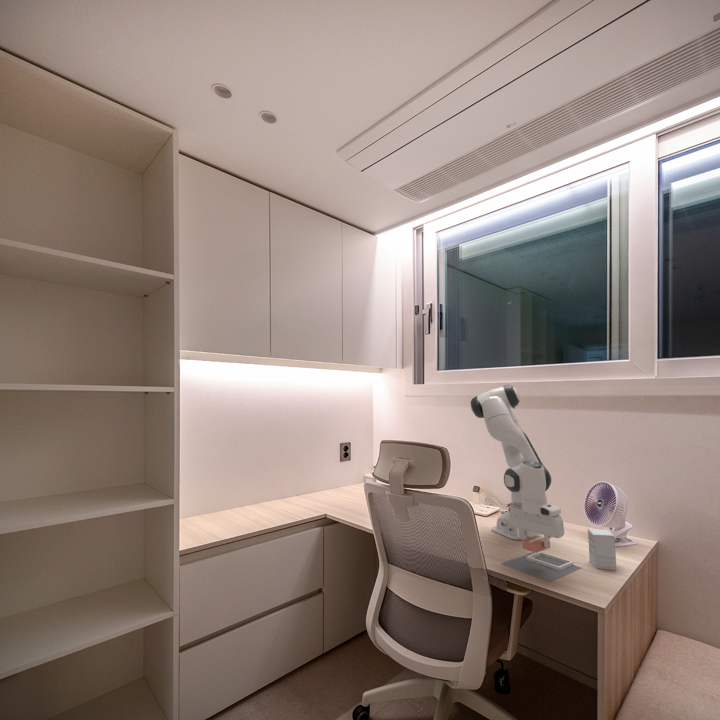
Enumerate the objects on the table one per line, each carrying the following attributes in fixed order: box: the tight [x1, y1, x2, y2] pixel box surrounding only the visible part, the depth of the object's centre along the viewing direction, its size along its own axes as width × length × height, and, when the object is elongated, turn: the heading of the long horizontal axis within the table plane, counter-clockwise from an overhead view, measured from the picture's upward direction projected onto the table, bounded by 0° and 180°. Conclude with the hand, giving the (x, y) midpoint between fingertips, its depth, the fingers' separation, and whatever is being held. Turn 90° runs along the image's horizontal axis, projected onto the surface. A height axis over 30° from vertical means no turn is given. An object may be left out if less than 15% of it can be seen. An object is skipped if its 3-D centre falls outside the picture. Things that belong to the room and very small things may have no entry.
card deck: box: [522, 535, 551, 553], centre depth 156 cm, size 9×6×3 cm, turn 127°
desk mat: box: [500, 551, 582, 583], centre depth 159 cm, size 20×22×1 cm
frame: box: [526, 551, 574, 571], centre depth 162 cm, size 13×10×1 cm
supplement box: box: [587, 528, 617, 571], centre depth 160 cm, size 7×7×13 cm
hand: (536, 544), depth 156 cm, fingers closed on card deck, 5 cm apart
